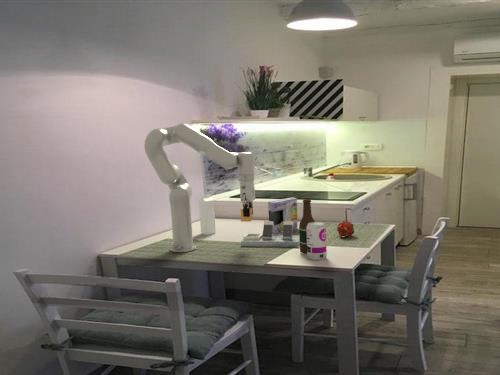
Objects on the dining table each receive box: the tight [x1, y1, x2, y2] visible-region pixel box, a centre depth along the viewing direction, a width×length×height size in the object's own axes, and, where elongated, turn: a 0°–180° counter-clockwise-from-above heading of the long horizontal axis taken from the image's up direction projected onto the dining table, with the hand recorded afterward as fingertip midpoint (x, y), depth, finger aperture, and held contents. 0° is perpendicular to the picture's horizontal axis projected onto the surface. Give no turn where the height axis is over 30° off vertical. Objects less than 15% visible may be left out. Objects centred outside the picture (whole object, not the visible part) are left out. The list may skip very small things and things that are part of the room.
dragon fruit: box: [336, 220, 355, 237], centre depth 239 cm, size 8×8×12 cm
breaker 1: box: [262, 220, 274, 239], centre depth 232 cm, size 2×5×9 cm
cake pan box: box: [267, 197, 299, 235], centre depth 259 cm, size 19×5×18 cm, turn 129°
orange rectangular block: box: [240, 207, 253, 223], centre depth 226 cm, size 4×4×6 cm
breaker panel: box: [240, 233, 300, 248], centre depth 231 cm, size 14×28×4 cm, turn 76°
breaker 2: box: [282, 221, 294, 239], centre depth 229 cm, size 2×5×9 cm
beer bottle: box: [298, 198, 316, 255], centre depth 211 cm, size 8×8×24 cm
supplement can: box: [306, 221, 328, 261], centre depth 200 cm, size 8×8×15 cm
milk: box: [198, 193, 216, 236], centre depth 261 cm, size 6×6×22 cm
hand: (248, 215), depth 226 cm, fingers closed on orange rectangular block, 4 cm apart
